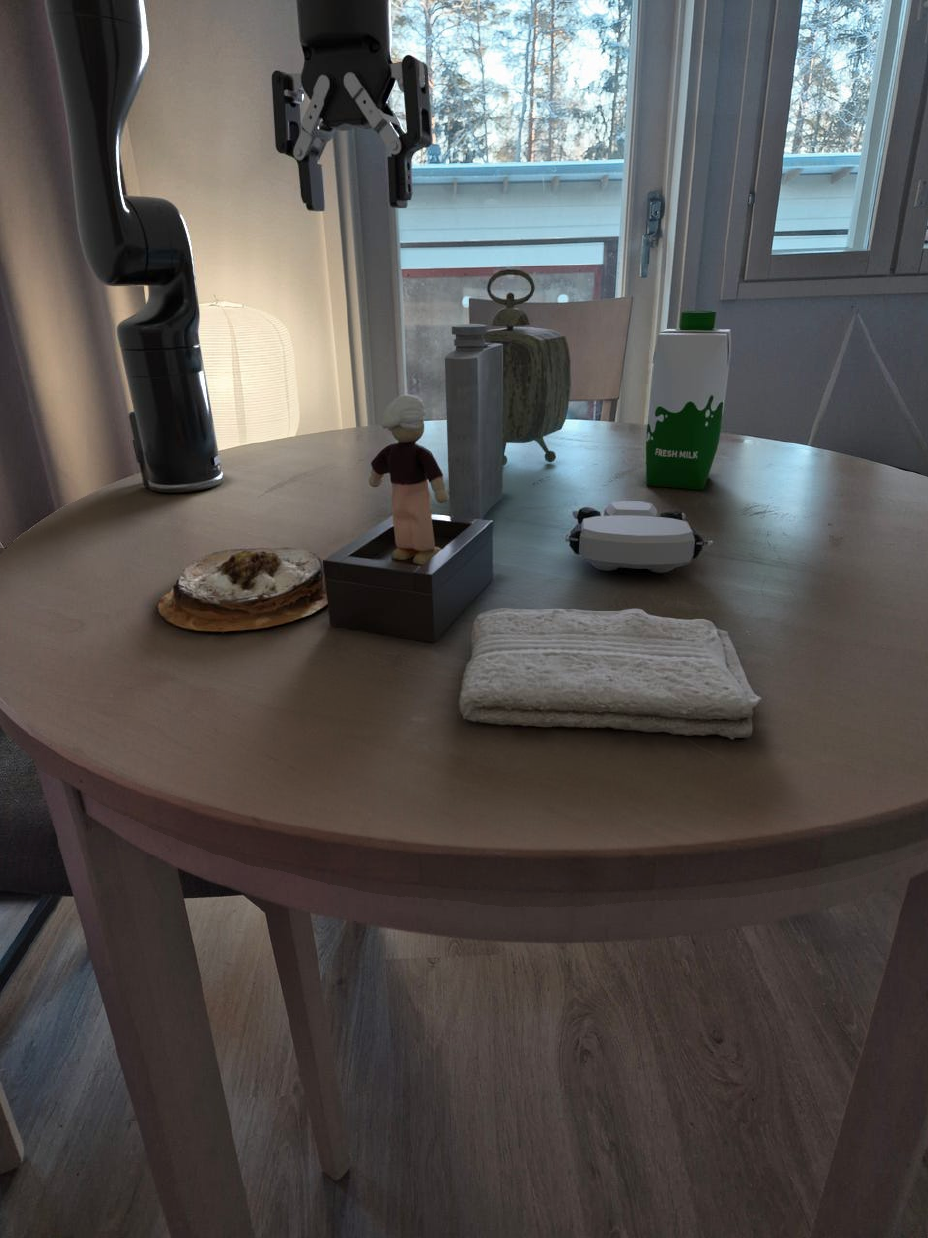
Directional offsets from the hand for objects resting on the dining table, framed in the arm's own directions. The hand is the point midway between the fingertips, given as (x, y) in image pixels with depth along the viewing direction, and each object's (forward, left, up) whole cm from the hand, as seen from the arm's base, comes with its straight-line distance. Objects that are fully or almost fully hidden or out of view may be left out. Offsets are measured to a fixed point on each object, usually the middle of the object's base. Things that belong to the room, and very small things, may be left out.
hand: (356, 209), depth 64 cm
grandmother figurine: (+12, -16, -26) cm, 33 cm away
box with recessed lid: (+12, -16, -30) cm, 36 cm away
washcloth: (+29, -24, -30) cm, 49 cm away
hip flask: (+8, +8, -30) cm, 32 cm away
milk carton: (+28, +29, -30) cm, 50 cm away
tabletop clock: (+4, +32, -30) cm, 44 cm away
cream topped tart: (-2, -20, -30) cm, 36 cm away
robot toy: (+27, 0, -30) cm, 40 cm away
